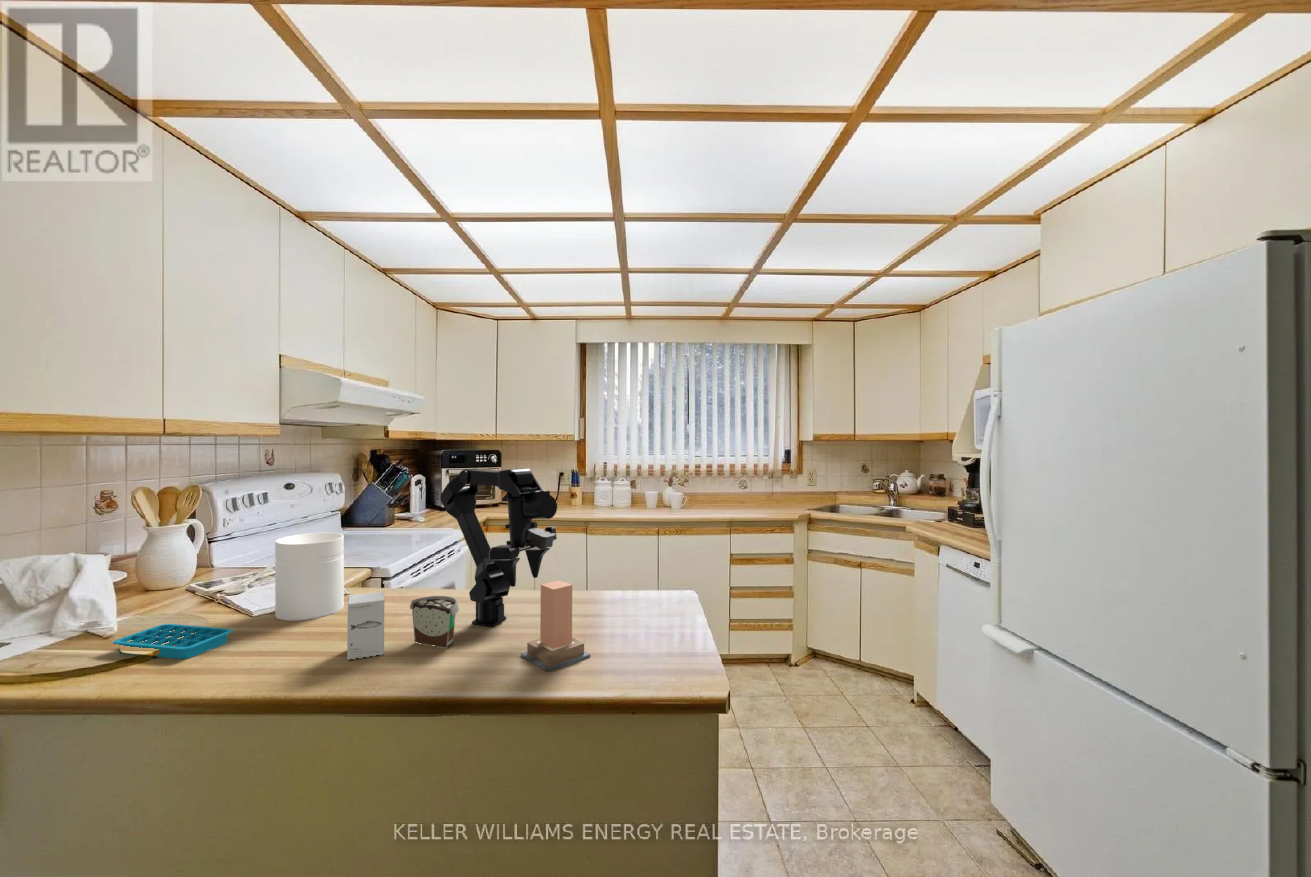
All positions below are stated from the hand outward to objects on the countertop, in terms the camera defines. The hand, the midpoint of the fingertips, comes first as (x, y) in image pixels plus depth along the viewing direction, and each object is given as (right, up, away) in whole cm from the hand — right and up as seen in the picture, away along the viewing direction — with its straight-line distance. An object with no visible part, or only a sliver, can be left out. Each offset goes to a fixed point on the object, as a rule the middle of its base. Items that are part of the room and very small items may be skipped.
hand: (524, 581), depth 135 cm
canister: (-63, -12, +15) cm, 66 cm away
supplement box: (-33, -13, -12) cm, 37 cm away
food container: (-19, -13, -5) cm, 23 cm away
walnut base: (+10, -13, -13) cm, 21 cm away
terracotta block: (+10, -10, -13) cm, 19 cm away
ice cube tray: (-78, -13, -10) cm, 80 cm away
